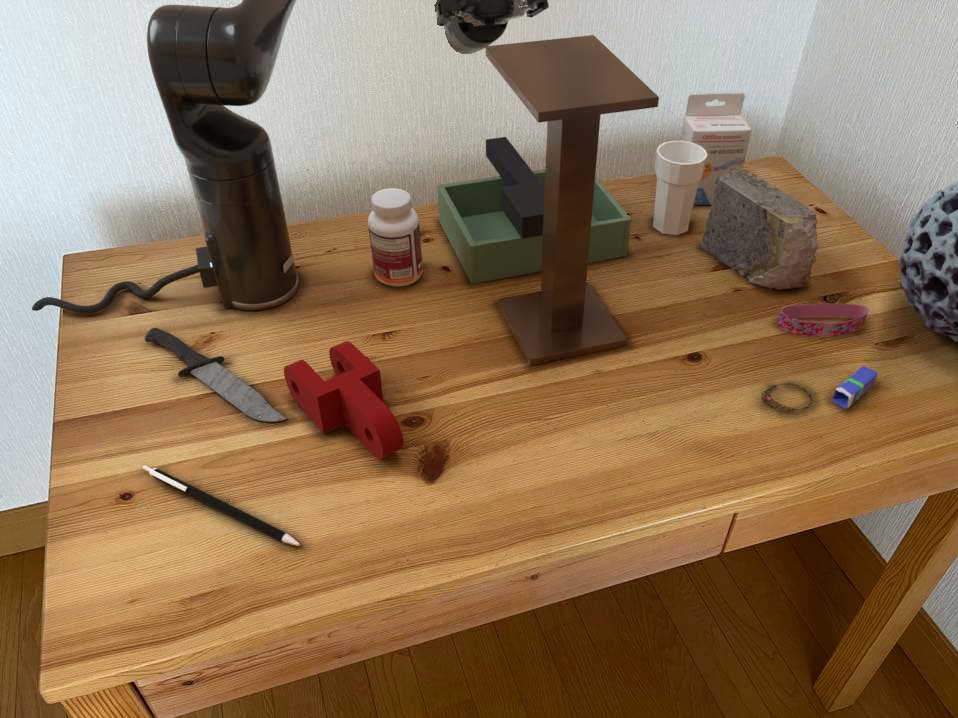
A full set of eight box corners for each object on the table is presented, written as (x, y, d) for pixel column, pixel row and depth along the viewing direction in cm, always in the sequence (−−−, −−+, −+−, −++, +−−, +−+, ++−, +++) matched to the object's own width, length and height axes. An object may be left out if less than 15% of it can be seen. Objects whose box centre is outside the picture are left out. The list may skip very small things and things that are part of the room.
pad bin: (471, 284, 108) (470, 246, 105) (439, 221, 119) (437, 184, 115) (627, 256, 114) (631, 219, 110) (583, 198, 125) (585, 163, 121)
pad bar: (521, 238, 106) (522, 217, 104) (469, 160, 121) (468, 140, 119) (581, 228, 108) (582, 207, 106) (522, 152, 123) (522, 132, 121)
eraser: (835, 388, 93) (851, 396, 92) (862, 364, 97) (878, 372, 96) (830, 401, 95) (847, 410, 94) (857, 377, 98) (873, 385, 97)
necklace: (751, 392, 95) (753, 385, 94) (799, 381, 97) (801, 374, 96) (770, 418, 92) (773, 412, 92) (819, 406, 94) (822, 400, 93)
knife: (260, 440, 88) (299, 415, 91) (258, 433, 87) (297, 407, 90) (133, 344, 97) (172, 323, 100) (131, 336, 97) (170, 316, 100)
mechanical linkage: (288, 394, 93) (280, 357, 89) (347, 369, 96) (341, 333, 93) (363, 478, 83) (357, 441, 80) (425, 447, 87) (422, 410, 84)
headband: (876, 322, 102) (870, 336, 103) (865, 301, 105) (860, 316, 106) (786, 324, 101) (782, 338, 103) (778, 303, 104) (774, 318, 106)
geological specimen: (710, 174, 109) (796, 229, 100) (745, 163, 112) (831, 216, 103) (695, 245, 117) (774, 303, 108) (728, 233, 119) (808, 289, 110)
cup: (682, 243, 117) (694, 169, 109) (638, 228, 119) (648, 155, 112) (701, 222, 121) (715, 149, 114) (659, 208, 124) (669, 136, 116)
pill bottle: (397, 255, 113) (389, 179, 105) (433, 271, 110) (428, 195, 103) (364, 276, 109) (354, 199, 101) (400, 294, 106) (393, 216, 99)
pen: (149, 463, 84) (141, 461, 83) (304, 541, 78) (298, 540, 77) (145, 472, 84) (137, 470, 83) (300, 550, 78) (294, 549, 77)
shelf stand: (530, 366, 97) (538, 112, 77) (487, 287, 108) (485, 45, 88) (626, 345, 101) (659, 96, 80) (576, 270, 111) (593, 34, 91)
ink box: (680, 207, 124) (696, 109, 114) (671, 189, 127) (686, 93, 117) (736, 204, 125) (757, 107, 115) (726, 187, 128) (746, 91, 118)
